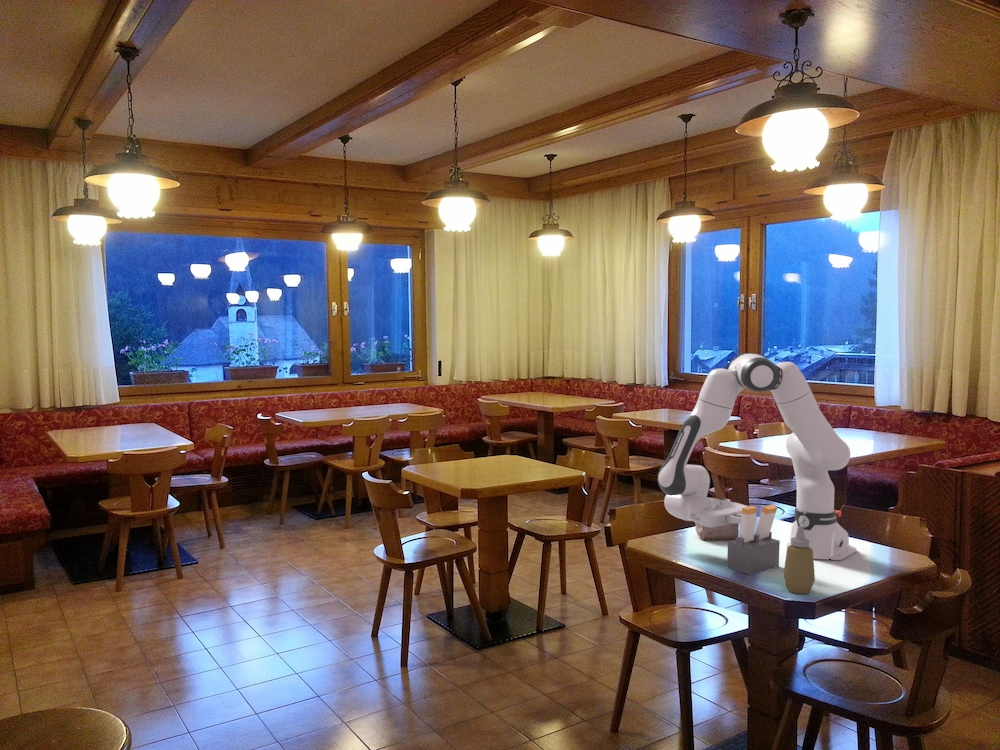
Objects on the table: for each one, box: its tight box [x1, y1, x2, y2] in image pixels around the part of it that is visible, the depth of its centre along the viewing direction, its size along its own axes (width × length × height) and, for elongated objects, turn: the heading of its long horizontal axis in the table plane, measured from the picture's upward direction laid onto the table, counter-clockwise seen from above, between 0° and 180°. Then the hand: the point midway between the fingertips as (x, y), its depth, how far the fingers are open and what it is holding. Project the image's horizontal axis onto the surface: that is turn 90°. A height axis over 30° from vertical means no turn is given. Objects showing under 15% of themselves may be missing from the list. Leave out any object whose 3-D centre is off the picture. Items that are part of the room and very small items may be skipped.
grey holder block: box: [726, 531, 781, 576], centre depth 229 cm, size 14×8×10 cm, turn 125°
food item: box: [695, 523, 740, 542], centre depth 260 cm, size 14×8×10 cm, turn 88°
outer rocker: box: [738, 505, 758, 542], centre depth 226 cm, size 5×2×10 cm, turn 125°
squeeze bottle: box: [782, 526, 816, 595], centre depth 209 cm, size 8×8×18 cm
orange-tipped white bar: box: [754, 504, 778, 539], centre depth 230 cm, size 5×2×10 cm, turn 125°
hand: (745, 521), depth 227 cm, fingers closed, pressing on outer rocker
